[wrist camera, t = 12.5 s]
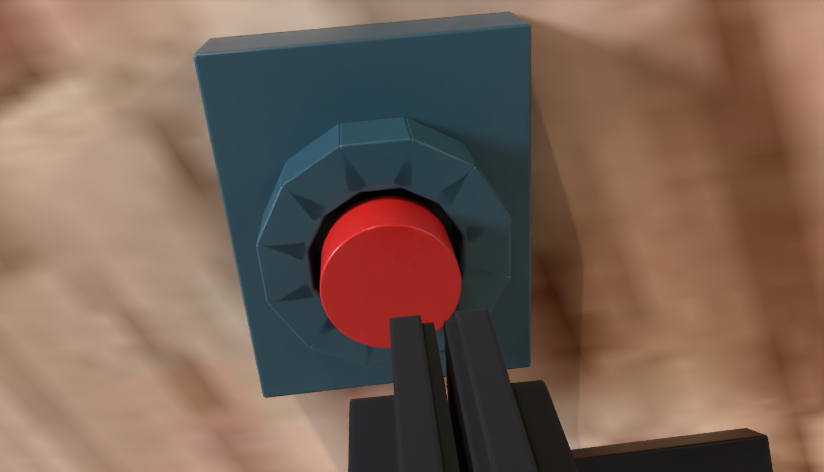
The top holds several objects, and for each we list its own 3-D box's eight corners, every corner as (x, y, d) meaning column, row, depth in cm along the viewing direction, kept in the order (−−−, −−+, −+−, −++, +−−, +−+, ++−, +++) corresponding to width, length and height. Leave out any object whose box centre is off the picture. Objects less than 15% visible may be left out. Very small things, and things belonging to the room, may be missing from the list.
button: (313, 201, 16) (310, 232, 15) (447, 187, 17) (458, 217, 15) (329, 316, 18) (329, 356, 16) (453, 302, 18) (465, 340, 16)
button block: (207, 38, 18) (175, 70, 15) (511, 10, 19) (553, 36, 15) (269, 355, 22) (256, 441, 19) (514, 327, 23) (547, 406, 19)
